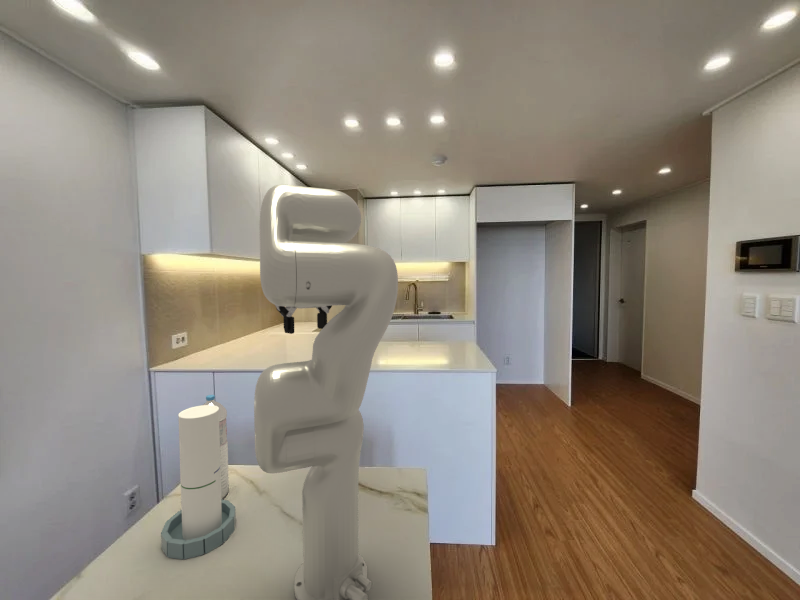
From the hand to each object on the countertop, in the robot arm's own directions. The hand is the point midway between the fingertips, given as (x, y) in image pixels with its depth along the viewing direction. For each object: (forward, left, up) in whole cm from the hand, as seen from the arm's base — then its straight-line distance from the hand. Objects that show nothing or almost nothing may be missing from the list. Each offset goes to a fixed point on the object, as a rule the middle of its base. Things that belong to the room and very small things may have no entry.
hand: (306, 330), depth 84 cm
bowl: (+4, +24, -40) cm, 47 cm away
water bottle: (+15, +17, -40) cm, 46 cm away
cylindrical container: (+4, +24, -40) cm, 46 cm away
